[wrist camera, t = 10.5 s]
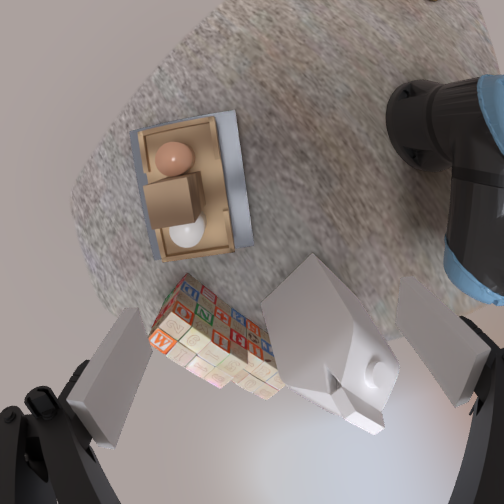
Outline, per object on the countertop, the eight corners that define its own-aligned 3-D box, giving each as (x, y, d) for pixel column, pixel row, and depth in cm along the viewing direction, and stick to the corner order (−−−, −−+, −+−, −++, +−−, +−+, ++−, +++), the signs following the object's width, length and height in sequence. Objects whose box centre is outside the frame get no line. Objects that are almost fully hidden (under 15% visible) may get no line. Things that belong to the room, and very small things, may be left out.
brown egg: (195, 142, 32) (189, 140, 28) (195, 173, 33) (189, 176, 29) (165, 143, 32) (154, 142, 28) (165, 174, 33) (155, 177, 29)
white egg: (203, 204, 35) (198, 211, 30) (209, 233, 36) (205, 244, 32) (174, 210, 35) (165, 218, 30) (180, 238, 36) (173, 250, 32)
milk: (260, 303, 48) (279, 436, 23) (312, 252, 45) (384, 360, 21) (309, 341, 51) (350, 464, 26) (358, 297, 48) (434, 405, 24)
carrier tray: (148, 133, 35) (107, 127, 22) (216, 120, 35) (205, 103, 22) (169, 250, 40) (142, 293, 28) (235, 241, 40) (233, 281, 28)
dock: (235, 114, 38) (234, 110, 34) (252, 237, 44) (254, 245, 40) (138, 132, 38) (129, 131, 34) (161, 251, 44) (154, 260, 40)
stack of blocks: (285, 345, 51) (297, 393, 39) (261, 365, 52) (267, 415, 40) (186, 271, 45) (170, 311, 34) (164, 298, 47) (144, 342, 35)
